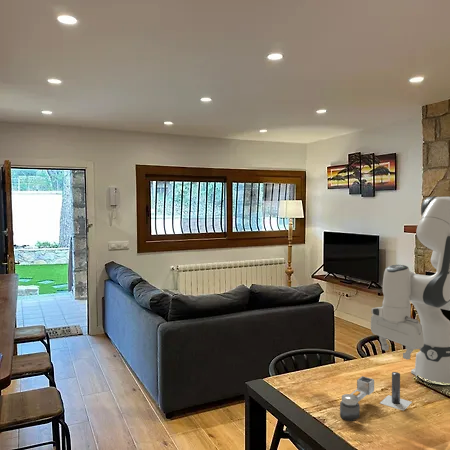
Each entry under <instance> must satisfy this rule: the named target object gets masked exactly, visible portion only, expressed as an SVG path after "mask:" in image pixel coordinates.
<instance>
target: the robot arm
mask: <svg viewBox="0 0 450 450" xmlns="http://www.w3.org/2000/svg"><path fill="white" fill-rule="evenodd" d="M420 215H421V217H420V219H419V222H418V224H417V227H416V231H415V232H416V233H415V234H416V238H417V240H418V242H420V243H421V244H422V245H423V246H424V247H426V248H427V249H429V250H431V251H432V253H431V257H430V263H431V265H432V267H433V268H434V269H435V270H436V271H435V273H434V274H432V275H426V274H418V273H414V272H412V271H410V268H409V266H407V265H404V264H391V265H388V266H387V267H385V269H384V271H383V279H382V294H383V298H382V299H383V300H382V305H381V306H377V307H372V308H371V309H370V311H371V312H370V313H371V314H372V315H371V318H370V330H371V332H372V334H373V335H375V336H378V337H379V338H378V339H379V342H380V344H381V350H383V351H389V347H390V346H389V344H388V341H387V340H389V341H392V342H394V343H397V344H399V345H402V346H405V350H406V351H405V352H403V353H402V355H403V356H402V358H403V359H405V360H407V361H408V360H410V359H411V354H412V353H413V351H414V350H419V351H418V352H417V353H415V365H414V368H412V369H411V371H410V373H411V374H413V375H415V376H416V377H417V375H419V376H421V377H423V378H425V379H428V380H431V381H436V382H444V383H450V320H449V319H448V318H447V317H446V316H445V315H444V314H443V312H442V310H445V311H450V196H436V195H435V196H428V197H427V198H425V199H424V200H423V201H422V203H421V207H420ZM411 304H412V305H413V307H414V309H415V310H416V313H417V314H418V318H419V320H420V321H419V320H418V319H415V318H412V317H411V312H412V311H411V309H412V305H411Z"/></svg>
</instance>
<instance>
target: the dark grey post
mask: <svg viewBox="0 0 450 450" xmlns="http://www.w3.org/2000/svg"><path fill="white" fill-rule="evenodd" d="M391 396H392V403H393V404H400V399H401V373H399V372H398V371H397V372H396V371H393V372H391Z"/></svg>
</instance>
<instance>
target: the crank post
mask: <svg viewBox="0 0 450 450" xmlns="http://www.w3.org/2000/svg"><path fill="white" fill-rule="evenodd" d="M360 408H361V406H360V404H359V402H358V406H357V407H346V406H344V405H343V404H342V400H341V401H340V402H339V417H340V418H341V419H342V420H344V421H347V422H356V421H357V420H358V419H360V414H361V413H360Z"/></svg>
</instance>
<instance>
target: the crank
mask: <svg viewBox="0 0 450 450" xmlns="http://www.w3.org/2000/svg"><path fill="white" fill-rule="evenodd" d="M373 392H375V378H374V379H373V378H370V377H367V376H361V377H359V378H358V379H357V380H356V389H355V390H354V391H352V392H351V393H345V394H342V395H341V401H342V404H343V405H344V406H346V407H357V406H358V403H359V402H360V401H361V400H362V399H364V398H365V397H366V396H370V395H371V394H372V393H373Z"/></svg>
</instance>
